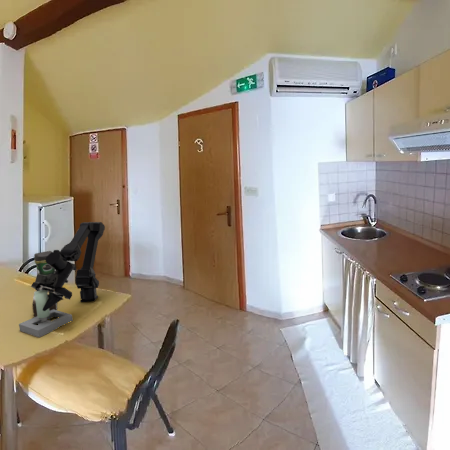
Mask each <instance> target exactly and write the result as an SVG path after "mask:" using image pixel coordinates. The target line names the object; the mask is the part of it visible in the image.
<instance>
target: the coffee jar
mask: <svg viewBox="0 0 450 450" xmlns="http://www.w3.org/2000/svg"><path fill="white" fill-rule="evenodd" d="M52 252H53V251H52V250H48V251H42V252H36V253H34V256H33V259H34V264H35V265H36V272H37V273H36V275H37V274H40V275H46V276H47V275H48V274H51V273H53V274H54V272H55V271H56V270H54V269H53V268H52V267H51V266H50V265H48V264H47V263H46V257H47V256H48V255H49V254H50V253H52ZM46 286H47V285H46Z"/></svg>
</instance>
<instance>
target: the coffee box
mask: <svg viewBox="0 0 450 450" xmlns="http://www.w3.org/2000/svg"><path fill="white" fill-rule="evenodd" d="M35 292H37V291H36V290H35V291H34V292H33V298H32V303H31V304H32V312H33V313H32V314H33V318H34V317H36V316H37V309H36V308H35V305H36V300H35ZM47 294H48V295H49V292H48V293H47ZM48 298H49V297H48ZM53 309H54V310H57V311H58V302H57V303H56V304H54V305H53V306H51V307H50V308H49V311H50V310H53Z"/></svg>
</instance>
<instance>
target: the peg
mask: <svg viewBox="0 0 450 450" xmlns="http://www.w3.org/2000/svg"><path fill="white" fill-rule="evenodd" d="M34 292H35V291H34ZM35 300H36V308H37V316H38V318H41V322H39V323H38V325H39V324H41V323H43V322H46V321H48V322H51V321H52V320H51V319H49V320H47V317H48V316H49V315H50V311H49V309H47V310H46V311H43V307H44V305H45V304H46V302H47V300H48V294H47V290H40V291H37V292H35Z"/></svg>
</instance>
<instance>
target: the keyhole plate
mask: <svg viewBox="0 0 450 450" xmlns="http://www.w3.org/2000/svg"><path fill="white" fill-rule="evenodd" d="M52 317H53V318H56V317H59V318H56V319H53V318H52ZM50 318H51V319H53V320H51V319H50ZM48 319H49V320H51V322H48V321H46V322H43V323H41V324H39V325H36V324H38V323H39V322H41V318H38V316H36V317H34V316H33V317H32V318H30V319H28V320H25V321H23V322H20V323H19V324H18V327H19V332H23V333H25V334H28V335H31V336H34V337H36V338H41V337H44V336H45V335H47V334H49V333H52V332H54V331H55V329H56V330H57V328H58V327H60V326H62V325H64V324H66V323H68V322H70V321H72V322H73V320H74V319H73V315H72V314H71V313H67V312H64V311H60V310H58V309H57V310H54V309H53V310H50V315H49V316H48V317H47V320H48ZM70 323H71V322H70ZM68 324H69V323H68ZM66 325H67V324H66ZM64 326H65V325H64ZM62 327H63V326H62ZM60 328H61V327H60ZM58 329H59V328H58ZM53 330H54V331H53Z"/></svg>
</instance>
